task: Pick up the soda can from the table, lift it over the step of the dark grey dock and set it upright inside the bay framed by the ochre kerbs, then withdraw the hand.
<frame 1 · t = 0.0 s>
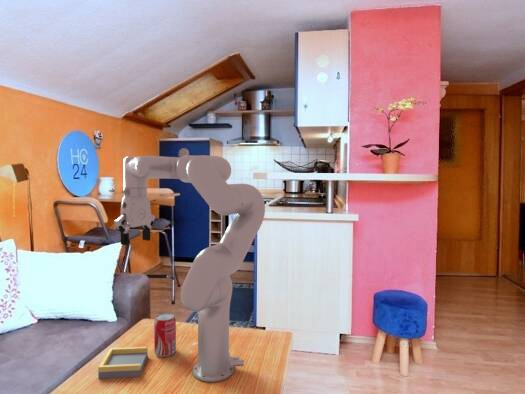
hand: (136, 242, 129), 37 cm above the table, tool pointing down, fingers open, 9 cm apart
dock: (124, 367, 118), on the table
soda can: (165, 353, 127), on the table
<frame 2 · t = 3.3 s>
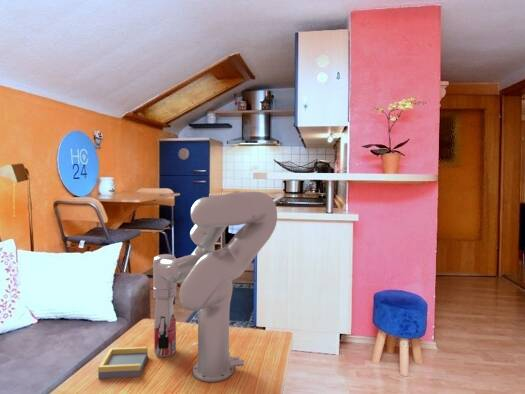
hand: (165, 342, 127), 4 cm above the table, tool pointing down, fingers open, 6 cm apart
soda can: (165, 353, 127), on the table, touching gripper
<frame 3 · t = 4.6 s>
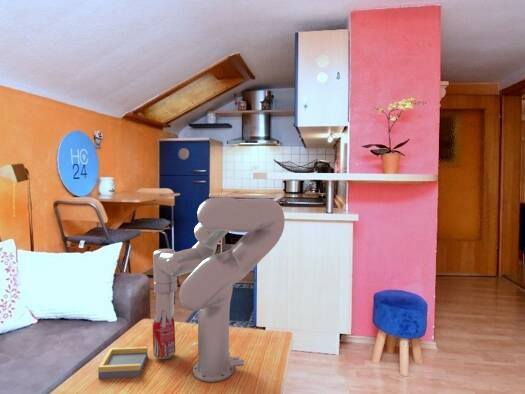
hand: (166, 339, 127), 5 cm above the table, tool pointing down, fingers closed on soda can, 2 cm apart
soda can: (164, 356, 125), on the table, touching gripper
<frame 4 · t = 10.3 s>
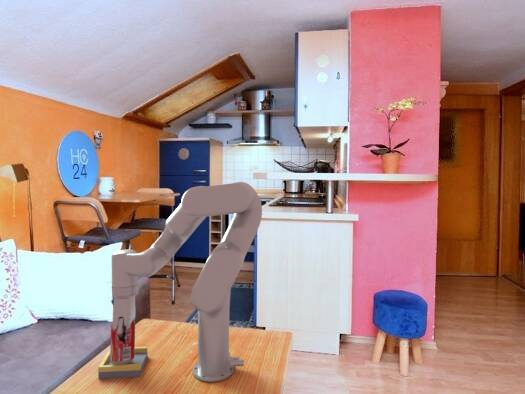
hand: (125, 345, 118), 7 cm above the table, tool pointing down, fingers open, 5 cm apart
soda can: (121, 363, 115), point 3 cm above the table, touching dock
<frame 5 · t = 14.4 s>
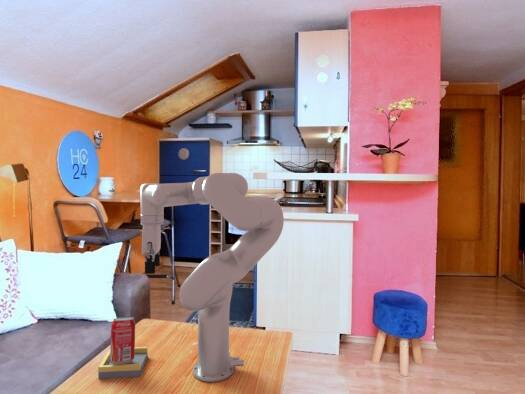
hand: (152, 269, 128), 28 cm above the table, tool pointing down, fingers open, 9 cm apart
nothing on the table moved.
at the end: soda can 2.6 cm off-centre on the dock, point 2.7 cm above the dock's base; soda can tilted 14°; the gripper is holding nothing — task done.
